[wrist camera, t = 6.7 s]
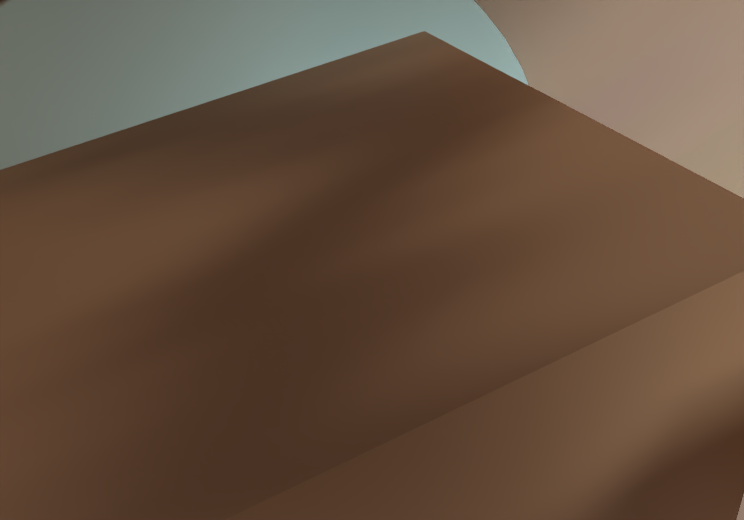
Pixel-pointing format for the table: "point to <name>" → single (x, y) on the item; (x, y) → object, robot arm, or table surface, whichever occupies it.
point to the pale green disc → (190, 56)
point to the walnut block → (370, 310)
